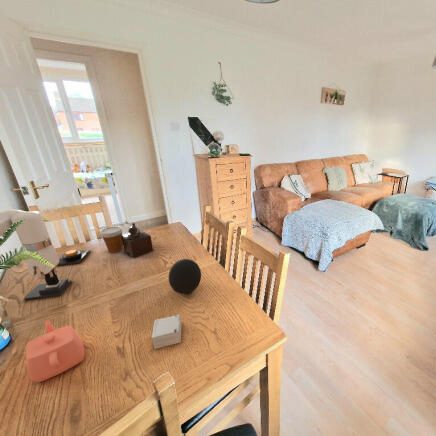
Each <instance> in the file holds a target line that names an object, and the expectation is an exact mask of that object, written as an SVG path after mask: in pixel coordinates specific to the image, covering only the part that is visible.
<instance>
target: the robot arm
mask: <svg viewBox="0 0 436 436" xmlns="http://www.w3.org/2000/svg"><path fill="white" fill-rule="evenodd" d="M24 219H25V220H24ZM21 220H23V223H24V224H21V225H20V226H18V227H17V228H16V230H15V231H14V232H16V234H17V235H16V236H17V237H18V240H19V241H20V244H21V246H22V248H23V247H25V248H26V250H27V251H30V252H38V255H40V256H42V257H43V258H45V259H46V260H47V261H48V262H50V263H51V264H53V265H54V266H55V267H53V268H52V267H49V266H47V265H44V264H42V263H40V262H39V261H37V260H34V259H28V260H25V264H26V267H27V270H28V273H29V275H30V276H31V277H34V276H36V277H37V280H45V283H47V285H48V286H50V285H57V284H58V283H59V280H60V278H59V276H58V272H57V267H58V266H57V265H58V263H59V258H60V256H59V254H58V252H57V250H56V248H55V246H54V245H53V241H52V239H51V237H50V234H49V232H48V229H47V226H46V224H45V221H44V219H43V216H42V214H41V213H40V212H39V211H34V210H31V211H24V210H21V209H20V210H19V209H13V208H12V209H6V210H3V211H0V238H1V237H3V236H4V235H3V232H6V231H7V230H8V229H9V228H10V227H11V225H12V224H14V223H17V222H19V221H21ZM2 235H3V236H2Z"/></svg>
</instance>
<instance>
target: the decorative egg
mask: <svg viewBox="0 0 436 436" xmlns="http://www.w3.org/2000/svg"><path fill="white" fill-rule="evenodd" d="M201 280H202V270H201V268H200V266H199V264H198V263H197V262H196V261H194V260H192V259H190V258H183V259H179V260H177V261H175V263H174V264H173V265H172V266H171V267H170V269H169V271H168V283H169V286H170V287H171V289H172V290H173V291H174V292H176V293H178V294H180V295H181V294H182V295H188V294H191V293H192V292H194V291H195V290H196V289H198V287H199V286H200V283H201Z"/></svg>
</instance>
